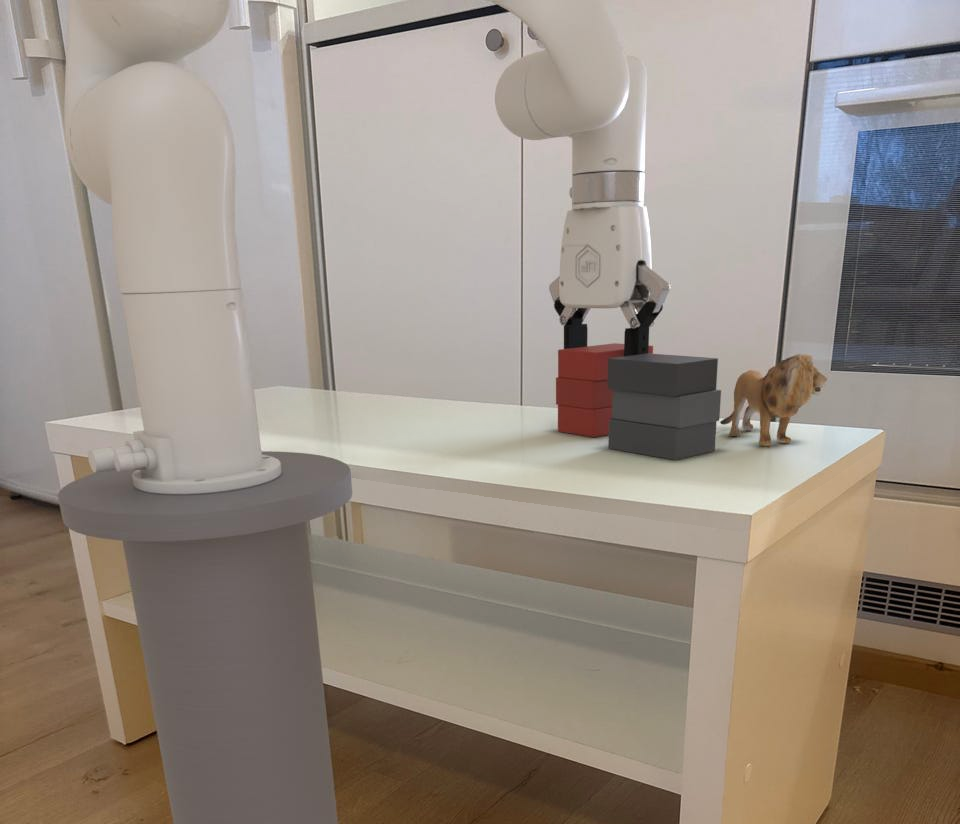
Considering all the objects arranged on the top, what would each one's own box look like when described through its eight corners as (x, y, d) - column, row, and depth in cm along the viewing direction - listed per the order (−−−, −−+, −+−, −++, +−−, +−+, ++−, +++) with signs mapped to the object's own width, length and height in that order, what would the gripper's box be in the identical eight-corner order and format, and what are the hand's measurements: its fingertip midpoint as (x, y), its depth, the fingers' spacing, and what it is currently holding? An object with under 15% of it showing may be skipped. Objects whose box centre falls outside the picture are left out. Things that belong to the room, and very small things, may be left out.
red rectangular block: (652, 373, 107) (653, 345, 106) (595, 381, 102) (596, 352, 101) (614, 369, 111) (614, 343, 110) (557, 377, 106) (557, 349, 105)
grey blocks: (675, 460, 91) (679, 364, 88) (606, 448, 98) (607, 358, 94) (717, 451, 95) (723, 358, 91) (648, 440, 101) (651, 352, 98)
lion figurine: (827, 447, 95) (837, 354, 91) (783, 452, 93) (791, 357, 89) (739, 426, 107) (745, 343, 104) (699, 430, 106) (703, 346, 102)
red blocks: (650, 426, 109) (652, 373, 107) (593, 437, 104) (594, 381, 102) (611, 421, 114) (612, 369, 111) (555, 431, 108) (555, 377, 106)
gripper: (526, 199, 104) (528, 361, 110) (644, 187, 91) (639, 371, 97) (576, 200, 108) (575, 356, 114) (695, 188, 95) (687, 365, 102)
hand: (604, 363), depth 106 cm, fingers open, 9 cm apart
